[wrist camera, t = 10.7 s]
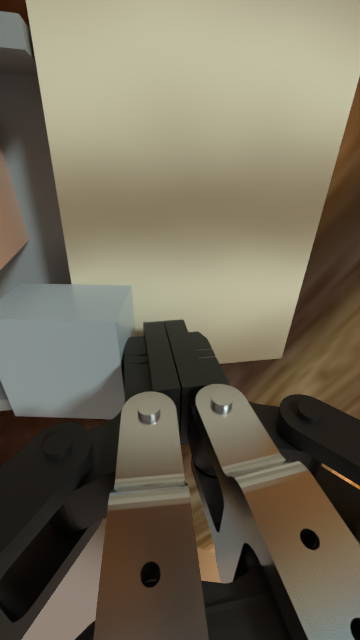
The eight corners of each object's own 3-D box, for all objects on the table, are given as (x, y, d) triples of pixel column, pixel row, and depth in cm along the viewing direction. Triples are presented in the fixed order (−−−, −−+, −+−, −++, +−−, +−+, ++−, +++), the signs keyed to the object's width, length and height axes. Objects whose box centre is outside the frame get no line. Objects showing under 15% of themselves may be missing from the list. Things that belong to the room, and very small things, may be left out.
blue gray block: (20, 283, 10) (-26, 318, 8) (131, 285, 10) (115, 322, 8) (46, 369, 12) (15, 416, 10) (139, 372, 12) (127, 419, 10)
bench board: (28, -118, 8) (-15, -254, 5) (334, -55, 9) (417, -133, 7) (91, 337, 15) (86, 376, 12) (256, 326, 17) (281, 358, 14)
